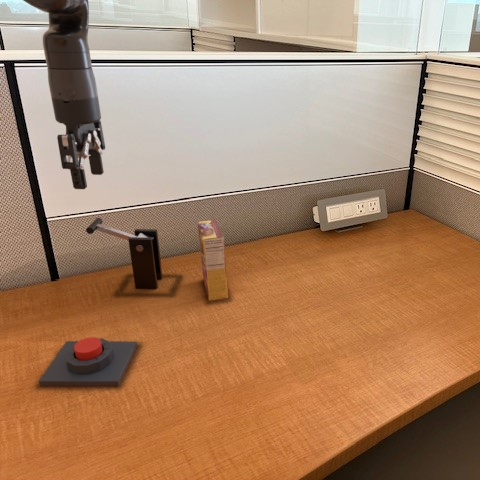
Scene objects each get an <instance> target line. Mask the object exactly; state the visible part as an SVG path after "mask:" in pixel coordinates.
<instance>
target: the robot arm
mask: <svg viewBox="0 0 480 480" xmlns="http://www.w3.org/2000/svg"><path fill="white" fill-rule="evenodd" d="M22 1H23V2H24V3H26V4H27V5H30V6H31V7H33V8H36V9H37V10H39V11H41V12H43V13H47V14H48V29H47V30H46V31H45V32H43V35H42V47H43V48H42V49H43V52H44V58H45V63H46V67H47V68H46V69H47V79H48V80H47V82H48V87H49V93H50V98H51V103H52V107H53V108H52V109H53V114H54V118H55V121H56V123H59V124H63V125H64V126H65V134H57V137H56V139H57V144H58V151H59V157H60V164H61V168H62V169H63V170H69V172H70V177H71V181H72V182H71V183H72V187H73V189H75V190H86V189H87V187H88V183H87V178H86V172H85V160H86V159H87V158H88V162H89V168H90V173H91V174H92V175H93V176H102V175H103V174H104V173H105V172H104V164H103V159H102V156H103V153H104V152H103V151H105V150H106V141H105V138H104V132H103V131H104V130H103V126H102V121H101V119H102V114H101V107H100V100H99V94H98V88H97V87H98V86H97V82H96V77H95V74H94V70H93V65H92V58H91V51H90V46H89V40H88V38H89V28H90V27H89V26H90V25H89V24H90V23H89V22H90V20H89V19H90V18H89V17H90V5H89V0H22Z"/></svg>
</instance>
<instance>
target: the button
mask: <svg viewBox="0 0 480 480" xmlns="http://www.w3.org/2000/svg"><path fill="white" fill-rule="evenodd" d="M100 339H101V338H98V337H94V336H93V337H92V336H91V337H86V338H83V339H80V340H79V342H77V343H76V344H75V346H74V350H75V355H76V358H77V359H78V360H80V361H88V360H91V359H94V358H97V357H98V356H100V355H101V354H102V352H103V350H102V344H101V340H100Z"/></svg>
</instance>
